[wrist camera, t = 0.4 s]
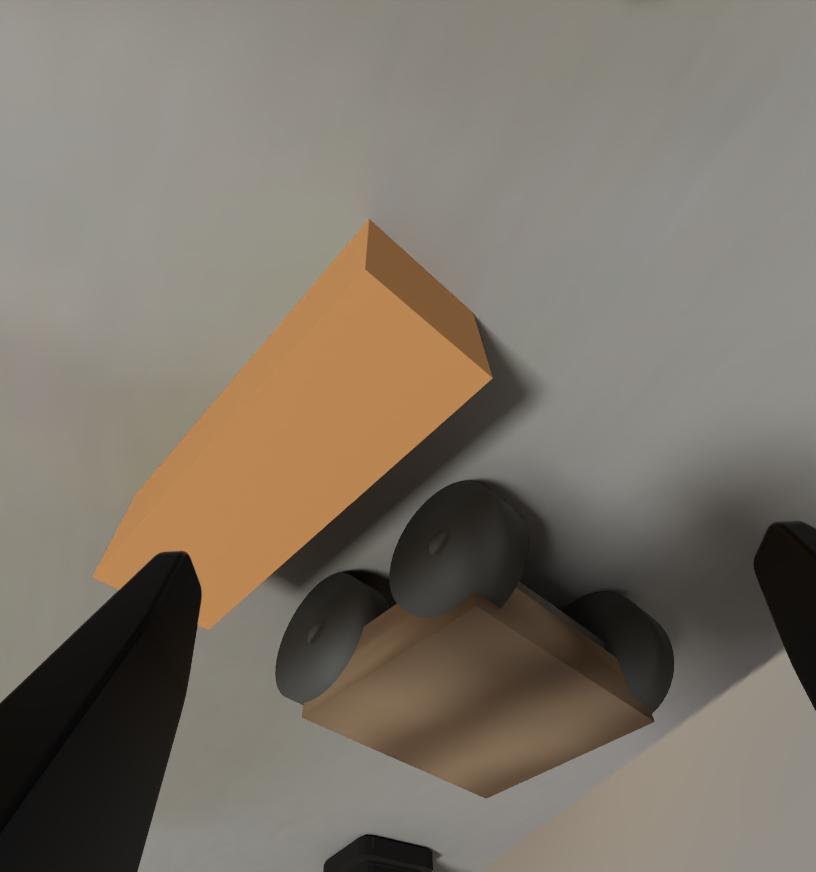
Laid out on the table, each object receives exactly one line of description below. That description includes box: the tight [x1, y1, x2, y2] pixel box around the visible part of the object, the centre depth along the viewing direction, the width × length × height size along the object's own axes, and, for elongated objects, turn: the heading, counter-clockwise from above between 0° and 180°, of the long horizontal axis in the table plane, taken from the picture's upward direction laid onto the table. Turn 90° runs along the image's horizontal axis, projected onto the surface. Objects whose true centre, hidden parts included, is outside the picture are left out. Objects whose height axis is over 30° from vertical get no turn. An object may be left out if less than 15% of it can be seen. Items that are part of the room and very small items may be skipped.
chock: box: [92, 219, 493, 630], centre depth 22 cm, size 5×16×5 cm, turn 138°
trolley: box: [275, 480, 674, 798], centre depth 28 cm, size 13×14×6 cm
